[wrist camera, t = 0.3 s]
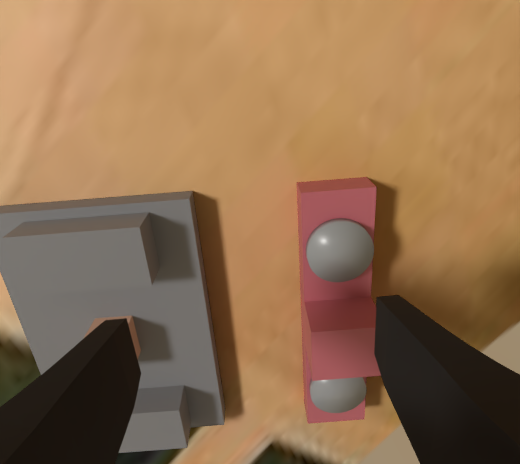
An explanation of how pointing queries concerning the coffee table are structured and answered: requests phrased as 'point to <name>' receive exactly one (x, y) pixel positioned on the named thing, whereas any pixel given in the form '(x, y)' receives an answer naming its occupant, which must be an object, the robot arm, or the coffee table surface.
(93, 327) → the display stand
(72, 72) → the coffee table surface
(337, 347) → the frame bar
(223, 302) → the coffee table surface
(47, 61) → the coffee table surface
